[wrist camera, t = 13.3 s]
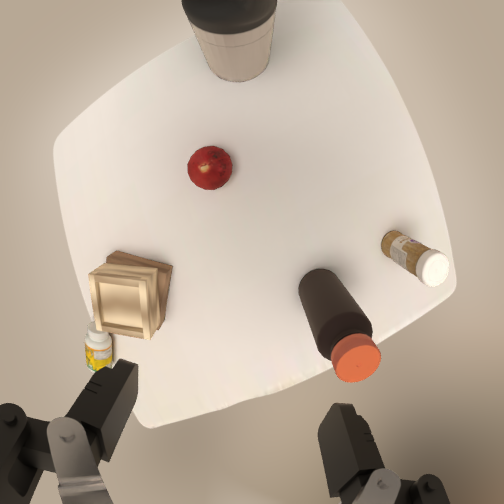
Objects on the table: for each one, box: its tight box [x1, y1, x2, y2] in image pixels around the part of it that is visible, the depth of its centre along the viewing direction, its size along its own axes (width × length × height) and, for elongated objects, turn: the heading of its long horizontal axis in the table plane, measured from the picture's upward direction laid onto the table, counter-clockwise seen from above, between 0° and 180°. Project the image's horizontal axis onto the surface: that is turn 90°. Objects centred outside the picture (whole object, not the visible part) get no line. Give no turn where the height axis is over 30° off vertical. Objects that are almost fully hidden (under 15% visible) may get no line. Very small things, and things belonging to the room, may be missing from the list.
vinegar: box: [299, 269, 381, 382], centre depth 35 cm, size 7×7×20 cm
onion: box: [187, 146, 232, 190], centre depth 36 cm, size 6×6×8 cm
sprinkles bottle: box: [381, 231, 449, 287], centre depth 36 cm, size 5×5×13 cm
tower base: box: [106, 251, 173, 330], centre depth 43 cm, size 10×10×4 cm
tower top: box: [88, 263, 160, 340], centre depth 38 cm, size 9×9×5 cm
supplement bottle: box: [85, 321, 112, 373], centre depth 45 cm, size 5×5×10 cm
